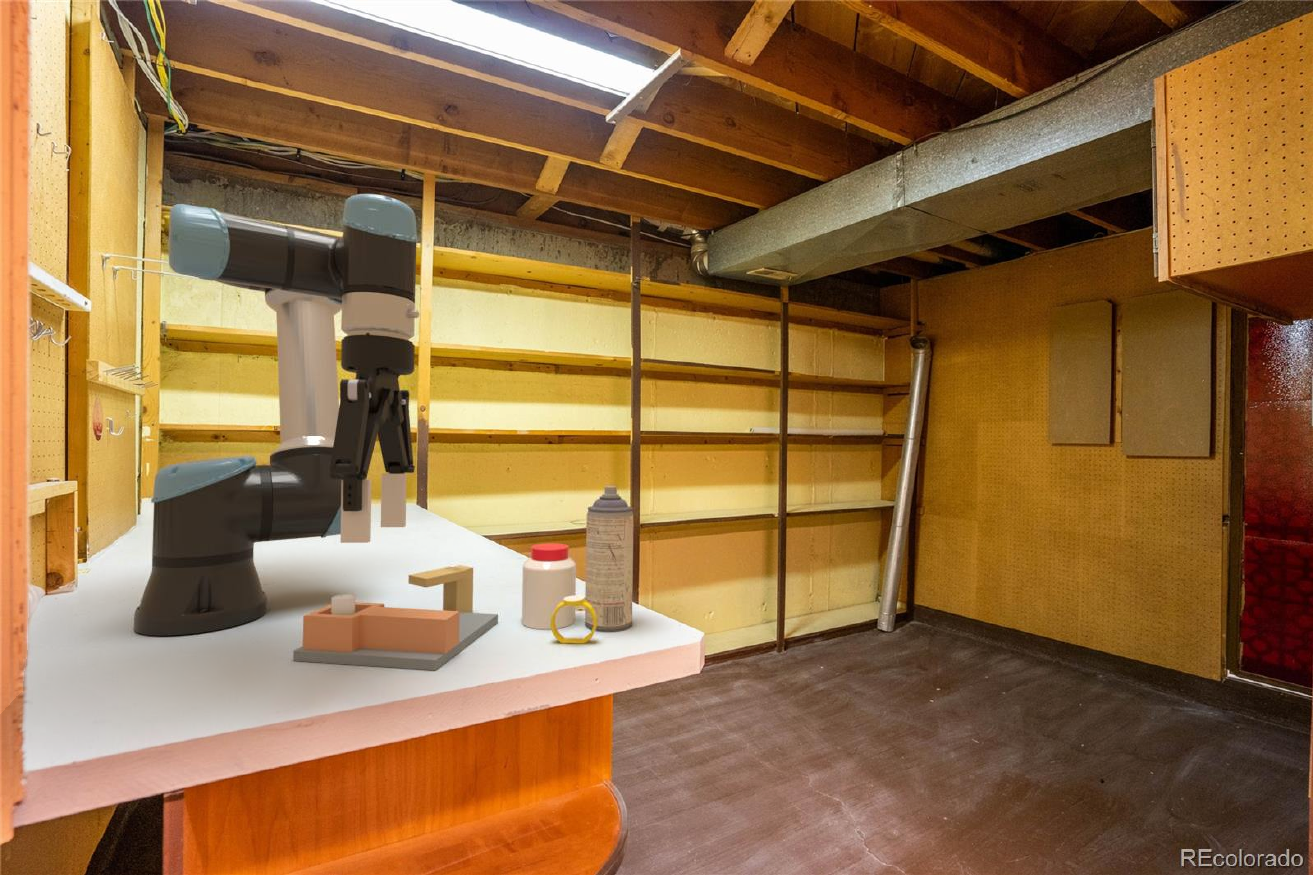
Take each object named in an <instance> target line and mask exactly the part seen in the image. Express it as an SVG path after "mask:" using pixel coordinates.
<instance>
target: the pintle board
mask: <svg viewBox="0 0 1313 875" xmlns="http://www.w3.org/2000/svg"><path fill="white" fill-rule="evenodd" d="M408 584H409V585H413V586H419V587H421V588H425V589H426V588H431V587H435V586H439V585H442V586H443V593H442V597H443V598H442V610H445V611H460V620H459V644H458V645H456V646H455V647H454V648H452V649H451V650H450V651H448V652H447V653H446V654H444V653H429V652H414V651H398V650H383V649H368V648H359V649H357V650H355V651H353V652H341V651H326V650H311V649H303V645H302V646H300V647H298V648H296V649H294V650H293V654H292V655H293V659H292V661H294V662H305V663H319V664H320V663H322V664H333V665H335V664H336V665H351V666H361V667H362V666H363V667H364V666H367V667H378V668H379V667H380V668H391V669H392V668H394V669H409V670H423V671H435V672H436V671H437V670H438V669H439V668H441V667H442V666H444V665H445V664H446V663H448V662H449V661H450V660H451V659H453V658H454V657H455V656H457V655H458V654H459V653H460V652H462V651H463V650H464V649H466V648H467V647H468V646H469V645H471V644H472V643H474V642H475V641H477V639H479V638H480V637H481V636H483V635H484V634H485V633H486V632H487V631H489V630H490V629H492V627H494V626H496V625H497V624H498V623H499V614H498V613H483V612H481V613H480V612H473V610H474V602H473V601H474V567H473V566H472V567H471V566H466V565H462V564H459V565H456V566H455V565H454V566H446V567H445V566H444V567H441V568H435V569H432V570H431V569H430V570H426V571H421V572H418V573H411V574H408ZM355 602H356V595H355V594H352V593H351V594H350V593H348V594H347V593H345V594H337V595H334V596H332V597H331V604H330V605H331V614H332V615H349V616H350V615H353V614H355ZM452 657H453V658H452ZM443 664H444V665H443Z"/></svg>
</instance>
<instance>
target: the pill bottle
mask: <svg viewBox="0 0 1313 875" xmlns="http://www.w3.org/2000/svg"><path fill="white" fill-rule="evenodd" d="M569 550H570V548H569V545H568V544H565V543H552V542H549V543H548V542H546V543H539V544H534V545H531V547H530V557H529V558H527V559H526V561H525V562H524V563H523V564H522V587H521V588H522V590H521V591H522V593H521V600H522V601H521V603H522V604H521V623H522V625H523V626H524V627H527V628H530V629H534V630H551V617H552V614H553V612H554V611H555V609H556V608H557V606H558V605H559V604H560V603H562V602H563V599H564V598H565V597H568V596H577V593H576V592H577V591H576V590H577V589H576V586H577V582H576V581H577V578H576V577H577V563H576V561H574V559H572V558H571V557H570V556H569V554H570V553H569ZM575 621H576V606H566V605H565V606H563V607H562V608H560V609H559V610H558V612H557V613H556V616H555V625H556V628H557V630H558V629H563V628H566V627H569V626H571V625H573V624H574V623H575Z"/></svg>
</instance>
